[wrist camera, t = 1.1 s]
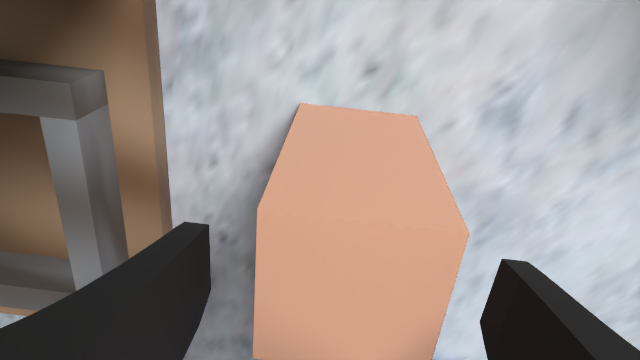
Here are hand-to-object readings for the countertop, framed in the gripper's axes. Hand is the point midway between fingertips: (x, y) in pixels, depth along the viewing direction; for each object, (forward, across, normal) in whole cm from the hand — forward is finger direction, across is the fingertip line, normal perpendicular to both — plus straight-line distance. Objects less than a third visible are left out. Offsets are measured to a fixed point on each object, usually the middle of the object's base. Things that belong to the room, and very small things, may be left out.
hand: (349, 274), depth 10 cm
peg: (+7, 0, 0) cm, 7 cm away
